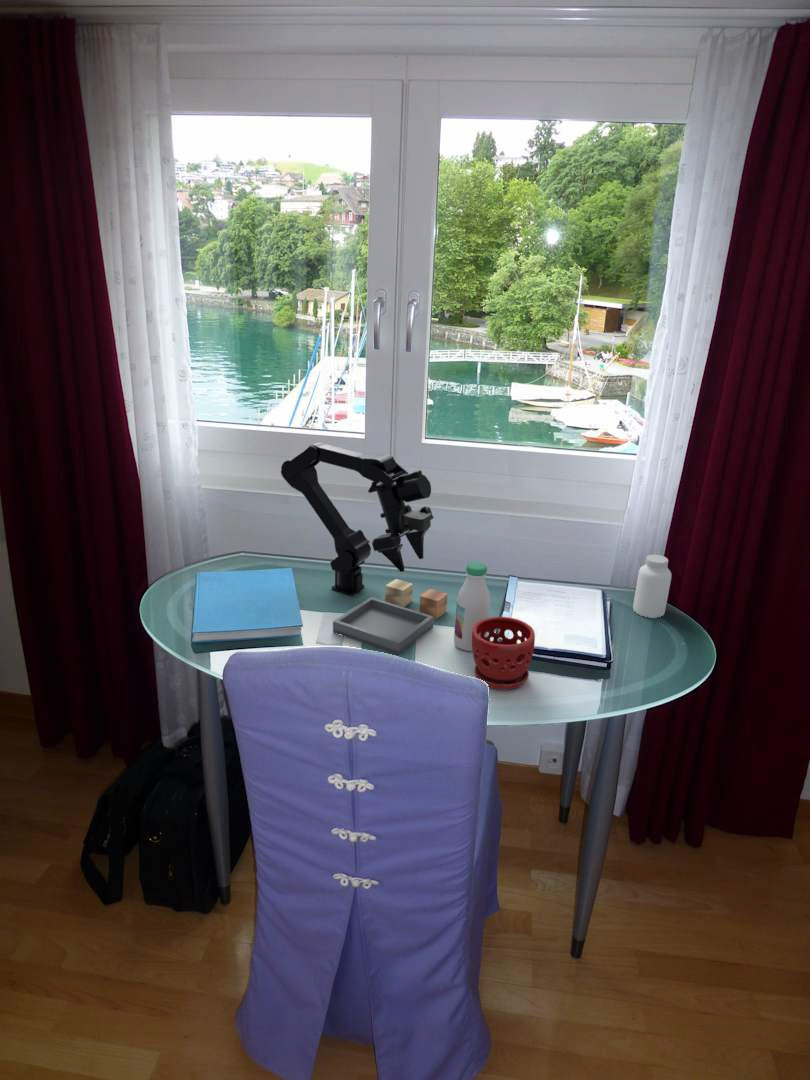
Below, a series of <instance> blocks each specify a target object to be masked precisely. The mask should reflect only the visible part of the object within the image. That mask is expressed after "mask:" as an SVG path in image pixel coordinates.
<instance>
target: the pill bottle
mask: <svg viewBox="0 0 810 1080" xmlns="http://www.w3.org/2000/svg"><path fill="white" fill-rule="evenodd" d="M668 565H669V559H668V558H667V557H666V556H664V555H660V554H649V555H647V556H646V559H645V564H643V565H642V566H641V567H640V568H639V570H638V574H637V581H636V587H635V592H634V598H633V604H632V605H633V606H632V609H633V611H634V612H636V613H635V614H637V615H638V614H639V615H638V616H641V617H643V616H644V618H647V617H648V618H649V619H658V618H657V617H660V618H662V617H663V616H664V615H665V612H666V607H667V603H668V598H669V591H670V587H671V581H672V576H673V575H672V572H671V570H670V568H668V567H669V566H668ZM661 616H662V617H661Z"/></svg>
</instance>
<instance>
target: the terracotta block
mask: <svg viewBox="0 0 810 1080" xmlns="http://www.w3.org/2000/svg"><path fill="white" fill-rule="evenodd" d="M448 595H449V594H448V593H445V592H442V591H439V590H436V589H431V588H428V589H427V590H426V591H424V592H423V593H421V595H419V606H418V610H419V611H418V612H421V613H424V614H427V615H430V616H434V619H436V620H438V619H439V618H441V616H443V615H444V614H445V613H446V612H447V609H448V608H447V607H448Z"/></svg>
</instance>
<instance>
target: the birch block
mask: <svg viewBox="0 0 810 1080" xmlns="http://www.w3.org/2000/svg"><path fill="white" fill-rule="evenodd" d="M413 585H414V584H413V583H411V582H408V581H405V580H401V579H397V578H395V579H394V580H392V581H390V582H389V583H388V584H386V585H385V595H384V601H385V602H388V603H392V604H395V605H398V606H401V607H406V606H407V605H409V604H410V603H411V602H413V592H414V591H413V587H414V586H413Z"/></svg>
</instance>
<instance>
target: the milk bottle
mask: <svg viewBox="0 0 810 1080" xmlns="http://www.w3.org/2000/svg"><path fill="white" fill-rule="evenodd" d="M487 569H488V566H487V565H486V564H485V563H482V562H480V561H472V562H468V563H467V564H466V568H465V571H466V572H465V575H466V578H465V580H464V583H463V584H462V585H461V588H460V590H459V592H458V593H457V600H456V605H455V606H456V608H455V618H454V619H455V620H454V621H455V622H454V633H453V643H454V645H455V647H456V648H458V649H459V650H461V651H465V652H472V653H473V650H472V630H473V627H474V625H475V624H476V623H477V622H479V621H481V620H484V619H487V618H491V617H490V615H491V593H490V591H489V587H488V586H487V583H486V576H487V573H488V572H487V571H488V570H487ZM488 634H489V633H488V632H486V633H485V635H484V636H485V637H487V636H488ZM479 636H480V633H479Z"/></svg>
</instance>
